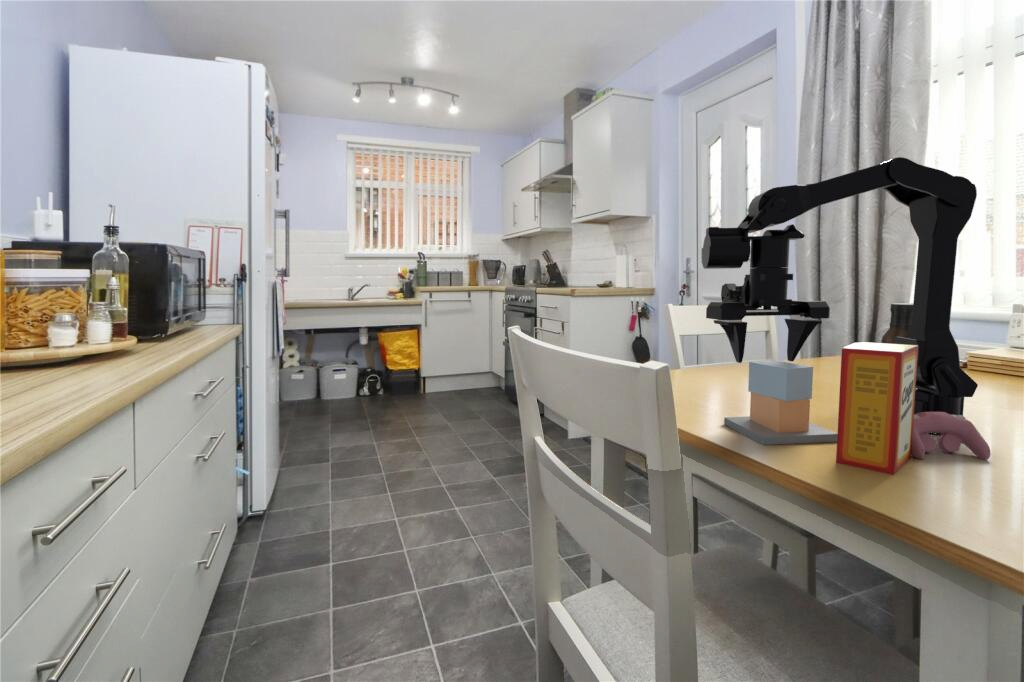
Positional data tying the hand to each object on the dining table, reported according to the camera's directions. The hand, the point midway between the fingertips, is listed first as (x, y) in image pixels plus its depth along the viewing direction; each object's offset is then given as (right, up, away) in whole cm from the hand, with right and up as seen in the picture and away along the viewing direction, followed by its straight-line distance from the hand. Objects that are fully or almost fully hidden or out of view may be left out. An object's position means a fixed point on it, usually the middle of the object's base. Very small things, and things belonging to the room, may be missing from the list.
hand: (764, 361), depth 89 cm
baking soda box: (+7, -13, -16) cm, 22 cm away
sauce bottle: (+31, -9, +13) cm, 35 cm away
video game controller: (+18, -13, -14) cm, 26 cm away
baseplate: (+1, -11, -3) cm, 12 cm away
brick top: (+1, -5, -3) cm, 6 cm away
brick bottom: (+1, -10, -3) cm, 11 cm away
